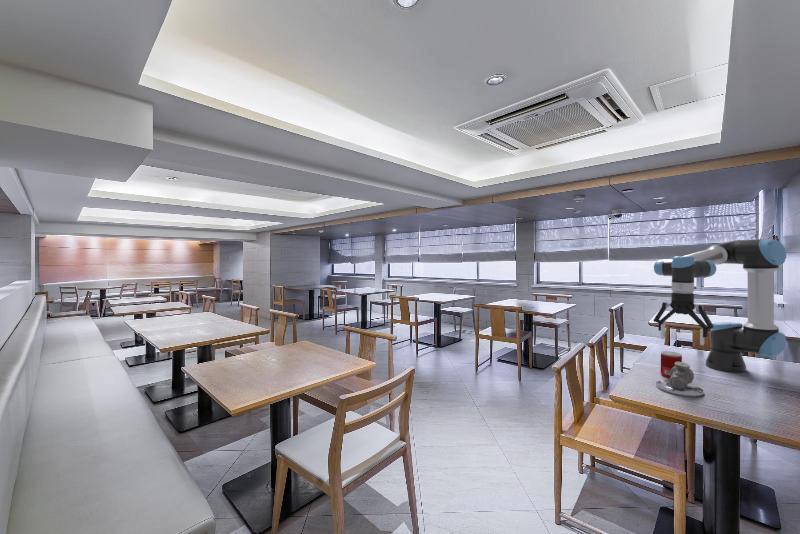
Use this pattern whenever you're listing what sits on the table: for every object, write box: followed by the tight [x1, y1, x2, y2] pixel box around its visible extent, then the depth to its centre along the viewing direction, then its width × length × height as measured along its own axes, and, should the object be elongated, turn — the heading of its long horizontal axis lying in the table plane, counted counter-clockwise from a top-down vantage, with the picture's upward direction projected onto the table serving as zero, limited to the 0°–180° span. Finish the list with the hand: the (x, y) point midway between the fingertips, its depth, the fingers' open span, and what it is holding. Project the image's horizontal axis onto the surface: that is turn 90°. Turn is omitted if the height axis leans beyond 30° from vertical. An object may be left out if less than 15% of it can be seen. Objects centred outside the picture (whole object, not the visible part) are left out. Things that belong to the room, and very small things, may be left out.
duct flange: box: [655, 379, 704, 398], centre depth 151 cm, size 16×16×2 cm
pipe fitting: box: [668, 361, 695, 390], centre depth 150 cm, size 12×8×10 cm, turn 132°
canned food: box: [660, 350, 683, 379], centre depth 167 cm, size 8×8×11 cm
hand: (681, 341), depth 150 cm, fingers open, 13 cm apart
